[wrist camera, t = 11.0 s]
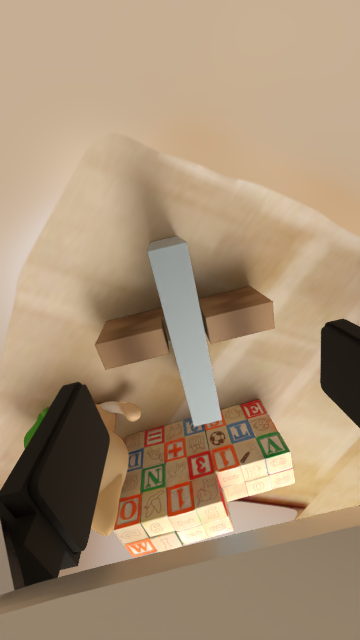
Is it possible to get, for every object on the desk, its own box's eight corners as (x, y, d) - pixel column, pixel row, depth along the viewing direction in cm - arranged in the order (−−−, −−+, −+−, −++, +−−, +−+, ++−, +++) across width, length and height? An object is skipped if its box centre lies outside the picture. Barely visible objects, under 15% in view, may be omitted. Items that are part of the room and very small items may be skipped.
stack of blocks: (259, 396, 36) (307, 477, 24) (264, 425, 38) (310, 511, 27) (125, 435, 36) (111, 533, 25) (139, 461, 39) (132, 561, 27)
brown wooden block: (250, 286, 29) (272, 301, 23) (252, 308, 30) (274, 328, 24) (106, 321, 29) (94, 344, 23) (114, 342, 30) (105, 369, 24)
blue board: (150, 242, 26) (147, 251, 17) (176, 235, 26) (186, 242, 17) (184, 374, 33) (194, 426, 24) (205, 369, 33) (222, 419, 24)
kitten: (43, 444, 35) (-30, 588, 21) (28, 390, 31) (-71, 522, 17) (144, 438, 37) (138, 568, 23) (142, 385, 33) (133, 504, 19)
